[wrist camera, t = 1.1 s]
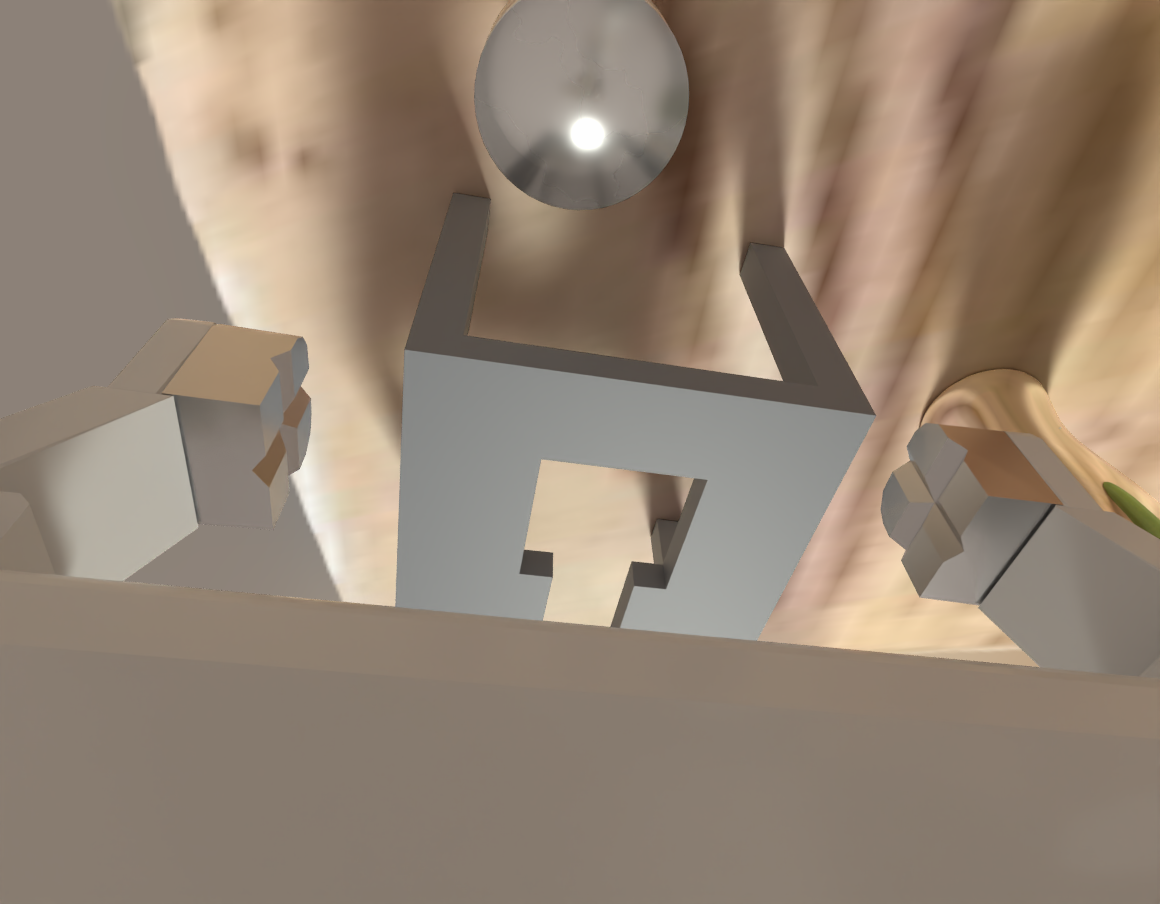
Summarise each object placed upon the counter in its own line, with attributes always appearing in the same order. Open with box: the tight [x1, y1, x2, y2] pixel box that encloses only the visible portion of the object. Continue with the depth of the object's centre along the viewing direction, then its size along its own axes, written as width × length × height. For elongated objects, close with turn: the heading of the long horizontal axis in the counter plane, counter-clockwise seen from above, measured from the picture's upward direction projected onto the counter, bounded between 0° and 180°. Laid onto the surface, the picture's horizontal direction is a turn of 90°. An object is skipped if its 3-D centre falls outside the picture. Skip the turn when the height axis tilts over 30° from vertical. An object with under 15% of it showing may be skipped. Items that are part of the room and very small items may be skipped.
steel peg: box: [474, 0, 689, 210], centre depth 24 cm, size 6×6×8 cm
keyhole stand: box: [395, 193, 876, 641], centre depth 32 cm, size 18×14×12 cm
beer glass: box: [920, 369, 1160, 539], centre depth 32 cm, size 7×7×15 cm
